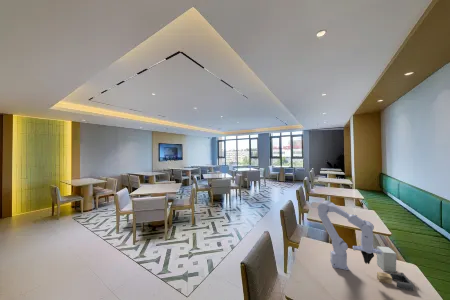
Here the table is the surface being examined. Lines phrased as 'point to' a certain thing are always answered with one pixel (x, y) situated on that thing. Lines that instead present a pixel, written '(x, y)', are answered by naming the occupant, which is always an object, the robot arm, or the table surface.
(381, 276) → the tan block
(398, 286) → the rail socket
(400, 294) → the table surface
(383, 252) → the supplement box
